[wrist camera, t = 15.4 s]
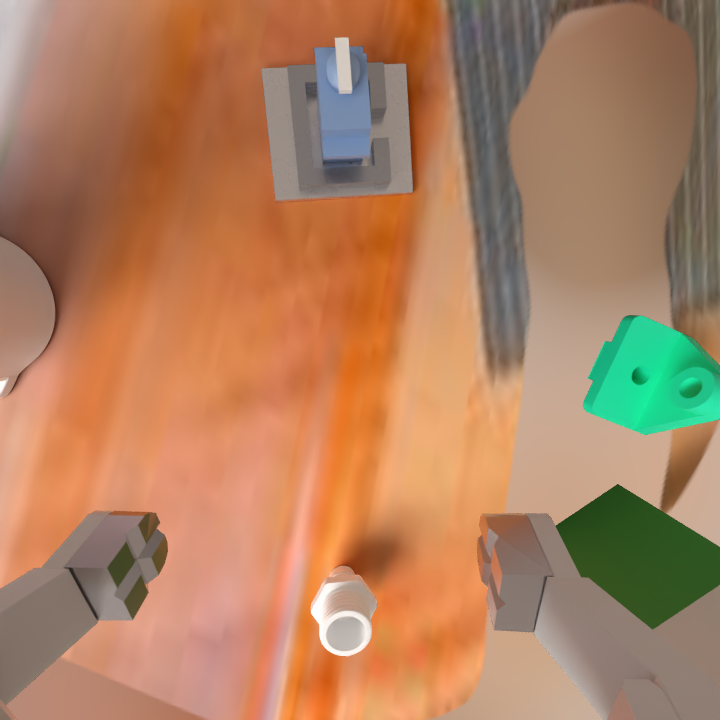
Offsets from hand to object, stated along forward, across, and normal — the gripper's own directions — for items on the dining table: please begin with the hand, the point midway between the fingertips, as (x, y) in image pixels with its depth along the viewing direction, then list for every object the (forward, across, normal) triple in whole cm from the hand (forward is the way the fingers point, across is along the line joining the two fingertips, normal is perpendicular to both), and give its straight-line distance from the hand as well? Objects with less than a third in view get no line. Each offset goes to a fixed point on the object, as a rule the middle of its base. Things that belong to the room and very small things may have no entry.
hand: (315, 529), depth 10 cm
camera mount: (+36, +30, -14) cm, 49 cm away
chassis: (+38, -2, +12) cm, 40 cm away
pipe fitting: (+24, -4, -35) cm, 43 cm away
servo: (+37, -2, +12) cm, 39 cm away
